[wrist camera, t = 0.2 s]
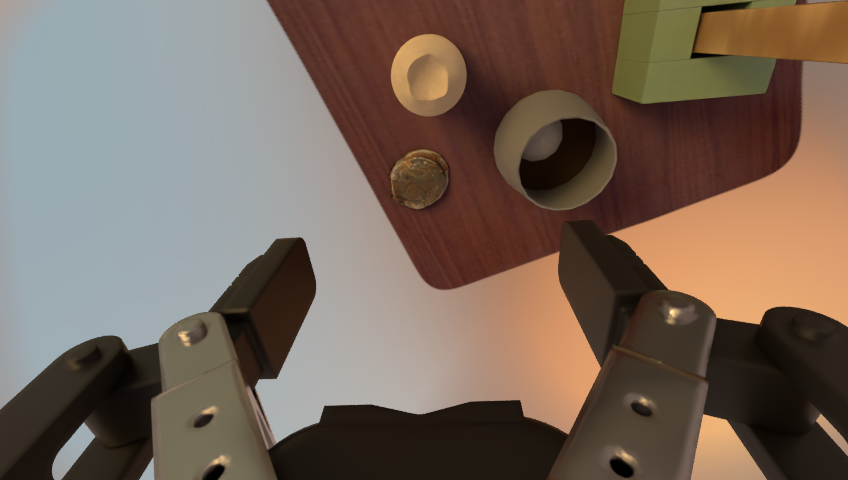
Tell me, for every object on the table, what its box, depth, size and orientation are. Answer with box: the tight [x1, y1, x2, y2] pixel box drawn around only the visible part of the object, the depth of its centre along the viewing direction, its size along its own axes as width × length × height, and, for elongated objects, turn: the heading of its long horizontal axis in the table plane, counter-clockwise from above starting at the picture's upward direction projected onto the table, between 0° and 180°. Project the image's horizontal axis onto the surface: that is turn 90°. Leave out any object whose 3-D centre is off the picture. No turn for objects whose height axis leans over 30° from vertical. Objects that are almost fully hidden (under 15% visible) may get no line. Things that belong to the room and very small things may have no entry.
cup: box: [493, 89, 617, 211], centre depth 33 cm, size 10×9×10 cm
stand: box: [612, 0, 796, 104], centre depth 30 cm, size 9×9×6 cm
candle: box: [391, 34, 467, 116], centre depth 30 cm, size 6×6×10 cm
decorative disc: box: [389, 149, 449, 209], centre depth 39 cm, size 6×6×1 cm
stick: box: [692, 0, 848, 64], centre depth 25 cm, size 3×3×18 cm
